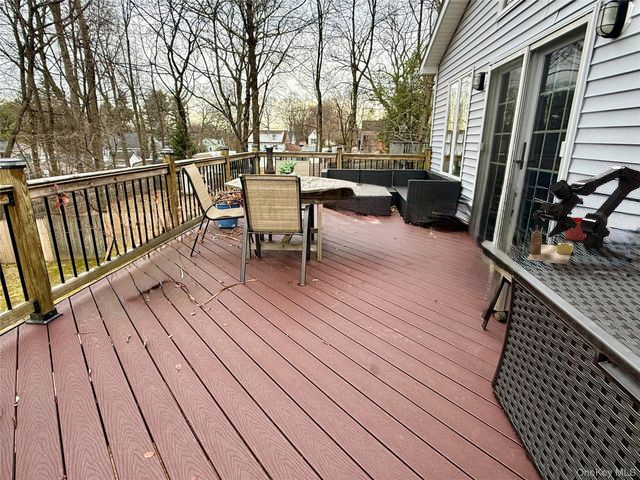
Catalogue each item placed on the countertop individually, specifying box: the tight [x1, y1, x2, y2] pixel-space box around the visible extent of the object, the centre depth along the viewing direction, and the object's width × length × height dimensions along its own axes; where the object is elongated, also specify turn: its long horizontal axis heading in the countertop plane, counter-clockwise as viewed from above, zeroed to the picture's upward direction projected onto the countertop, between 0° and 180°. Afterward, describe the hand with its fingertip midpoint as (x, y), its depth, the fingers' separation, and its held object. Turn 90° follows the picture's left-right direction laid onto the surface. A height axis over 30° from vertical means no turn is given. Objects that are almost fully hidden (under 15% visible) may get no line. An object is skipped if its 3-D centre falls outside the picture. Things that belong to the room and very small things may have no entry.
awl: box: [530, 225, 543, 255], centre depth 148 cm, size 4×4×13 cm
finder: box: [556, 242, 574, 255], centre depth 148 cm, size 5×4×4 cm
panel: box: [526, 244, 574, 265], centre depth 149 cm, size 22×26×1 cm
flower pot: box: [564, 216, 586, 241], centre depth 168 cm, size 11×11×10 cm
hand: (540, 234), depth 148 cm, fingers open, 9 cm apart
